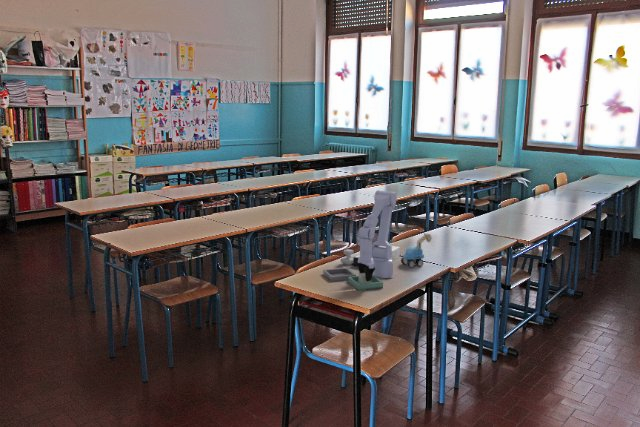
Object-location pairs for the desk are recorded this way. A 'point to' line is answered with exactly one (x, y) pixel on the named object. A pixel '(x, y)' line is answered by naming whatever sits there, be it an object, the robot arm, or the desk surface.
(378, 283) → the bin
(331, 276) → the bin
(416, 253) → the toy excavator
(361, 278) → the light gray block
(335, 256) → the desk surface
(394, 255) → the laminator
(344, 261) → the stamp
